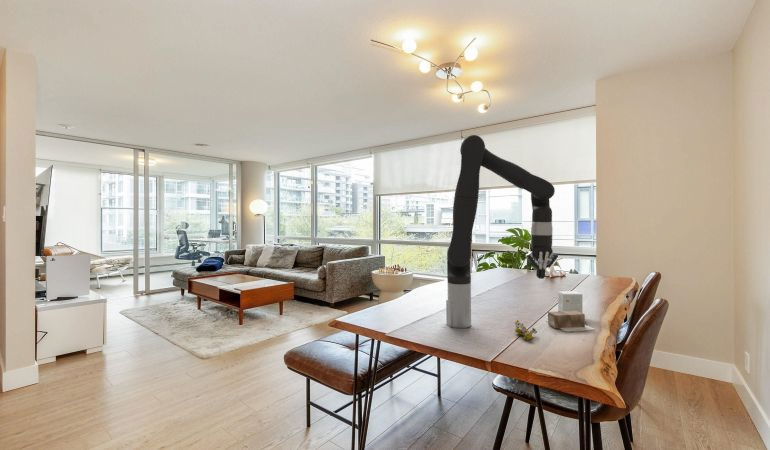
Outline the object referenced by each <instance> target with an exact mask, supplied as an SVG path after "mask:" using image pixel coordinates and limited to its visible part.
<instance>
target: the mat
mask: <svg viewBox="0 0 770 450" xmlns="http://www.w3.org/2000/svg"><path fill="white" fill-rule="evenodd" d="M545 322H547V323H548V319H547V320H545ZM559 329H560V330H561V331H564V332H581V331H595V330H596V328H593V327H591V326H589V325H587V324H585V327H574V328H559Z"/></svg>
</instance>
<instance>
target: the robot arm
mask: <svg viewBox="0 0 770 450" xmlns="http://www.w3.org/2000/svg"><path fill="white" fill-rule="evenodd" d="M459 150H460V151H459V153H460V157H461V159H460V172H459V175H458V179H457V183H456V186H455V192H454V197H453V205H452V207H453V208H452V235H451V238H450V243H449V246H448V248H447V251H446V260H447V261H446V263H447V264H446V267H447V268H446V269H447V271H446V272H447V274H446V275H447V276H446V277H447V299H446V301H445V303H446V304H445V305H446V306H445V307H446V308H445V310H446V311H445V313H446V315H445V316H446V324H447V326H449V327H450V328H457V329H465V328H466V329H467V328H470V327H471V326H472V276H471V258H472V236H473V235H472V234H473V229H474V225H475V220H476V216H477V211H478V205H479V204H478V202H479V191H480V172H481V167H482V168H485V169H486V170H488V171H490V172H492V173H494V174H496V175H497V176H499V177H501V178H502V179H503V180H505V181H506V182H508V183H510V184H511V185H514V186H515V187H516V188H518V189H521V190H524V191H527V192H529V193H530V200H531V207H532V214H531V228H530V229H531V230H530V246H531V247H530V249H529V252H528V253H525V254H524V257H525V259H526V260H527V262H528V263H529V264H530V266H531V267H533V268H535V269H536V271H535V273H536V274H535V275H536V277H537V279H541V280H542V279H545V277H546V269H548V268H551V267H552V265H553V264H554V263H555V261H556V260H557V259H558V257H559V255H558V254H556V253H554V252H553V251H554V250H553V247H552V246H553V211H552V208H551V206H550V199H551V198H553V196H554V195H555V192H556V191H555V190H556V189H555V186H554V185H553V184H552V183H551V182H550V181H548V180H547V179H545V178H542V177H540V176H539V175H538V176H537V175H536V174H532V173H531V172H529V171H528V170H527V169H525V168H523V167H521V166H519V165H518V164H516V163H514V162H511V161H510V160H507V159H504V158H502V157H500V156H498V155H496V154H494V153H493V152H491V151H490V150H488V149H487V148H486V144H485V141H484V139H483V138H482V136H481V137H480V135H477V134H471V135H469V136H467V137H465V138H464V139H463V140H462V141H461V145H460V149H459Z"/></svg>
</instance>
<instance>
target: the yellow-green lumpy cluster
mask: <svg viewBox="0 0 770 450" xmlns="http://www.w3.org/2000/svg"><path fill="white" fill-rule="evenodd" d="M519 321H520V320H519V319H517V320H516V321H515V322H514V326H515V328H514V332H515V333H517V335H519V336H523V340H525V341H529V340H530V341H531V339H533V334H538V331H537V329H536V328H534V327H532V328H531V330H528V328H527V327H526V326H525V325H524V323H520V322H519Z"/></svg>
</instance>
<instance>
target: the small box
mask: <svg viewBox="0 0 770 450" xmlns="http://www.w3.org/2000/svg"><path fill="white" fill-rule="evenodd" d="M557 301H558V302H557V307H558V308H557V310H558V311H578V312H581V313H583V293H581V292H579V291H575V290H574V291H573V290H572V291H571V290H567V291H566V290H561V291H560V290H559V291H558V292H557ZM558 311H557V312H558ZM583 314H584V313H583Z"/></svg>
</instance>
